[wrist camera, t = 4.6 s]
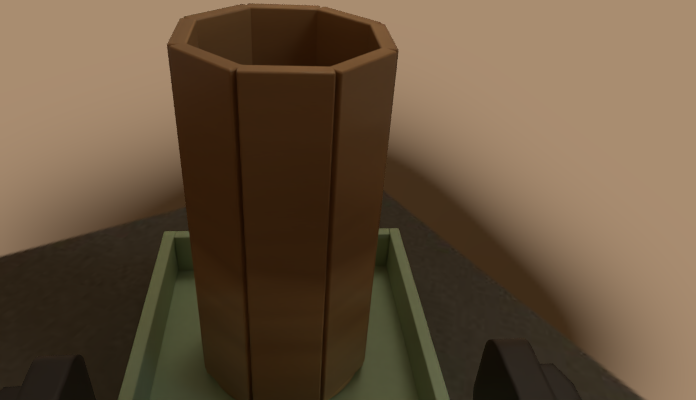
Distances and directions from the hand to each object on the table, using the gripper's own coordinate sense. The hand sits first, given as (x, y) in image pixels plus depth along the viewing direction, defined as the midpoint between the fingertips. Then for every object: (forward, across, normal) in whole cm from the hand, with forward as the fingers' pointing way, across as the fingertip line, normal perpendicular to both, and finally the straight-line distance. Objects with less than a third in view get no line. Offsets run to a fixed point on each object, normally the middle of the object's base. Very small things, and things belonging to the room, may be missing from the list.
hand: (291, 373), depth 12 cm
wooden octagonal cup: (+8, 0, +9) cm, 12 cm away
